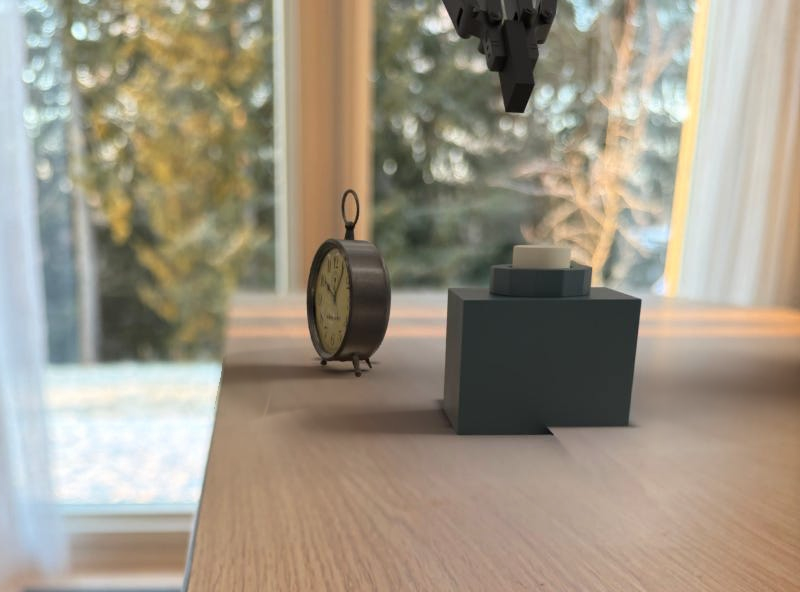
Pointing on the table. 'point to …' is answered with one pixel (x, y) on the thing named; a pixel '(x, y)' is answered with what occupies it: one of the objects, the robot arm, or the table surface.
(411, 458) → the table surface
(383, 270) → the alarm clock
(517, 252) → the lid button
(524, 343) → the block with cream knob
